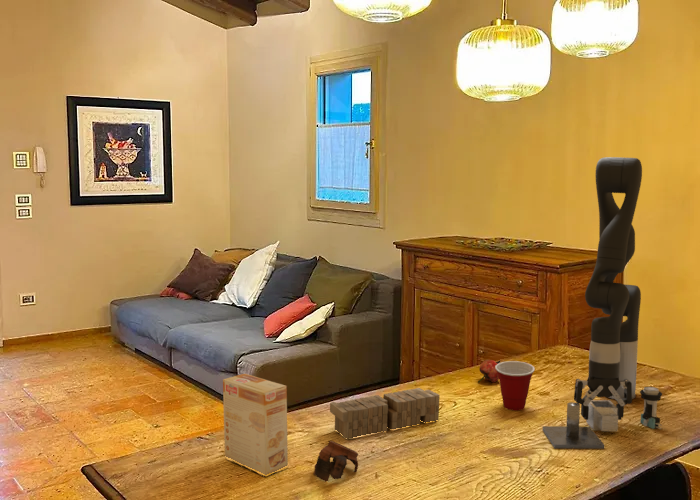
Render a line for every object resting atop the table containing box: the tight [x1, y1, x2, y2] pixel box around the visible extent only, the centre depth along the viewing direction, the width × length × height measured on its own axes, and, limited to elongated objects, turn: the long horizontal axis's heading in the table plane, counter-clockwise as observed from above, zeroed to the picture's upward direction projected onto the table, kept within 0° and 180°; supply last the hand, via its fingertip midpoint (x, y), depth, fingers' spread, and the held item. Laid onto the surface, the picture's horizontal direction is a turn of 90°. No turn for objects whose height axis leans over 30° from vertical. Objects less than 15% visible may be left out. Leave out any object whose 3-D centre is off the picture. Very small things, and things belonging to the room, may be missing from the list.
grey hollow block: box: [585, 399, 619, 432], centre depth 186 cm, size 10×6×6 cm, turn 178°
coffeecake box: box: [222, 373, 289, 475], centre depth 165 cm, size 15×7×20 cm, turn 47°
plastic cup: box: [495, 360, 536, 412], centre depth 202 cm, size 11×11×12 cm
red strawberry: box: [477, 359, 501, 383], centre depth 227 cm, size 7×7×10 cm
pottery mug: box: [313, 440, 359, 482], centre depth 159 cm, size 12×10×8 cm
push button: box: [639, 386, 663, 430], centre depth 188 cm, size 7×5×10 cm
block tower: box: [329, 387, 440, 440], centre depth 189 cm, size 8×8×29 cm
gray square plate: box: [542, 401, 605, 450], centre depth 179 cm, size 12×12×9 cm
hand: (601, 418), depth 188 cm, fingers open, 8 cm apart
